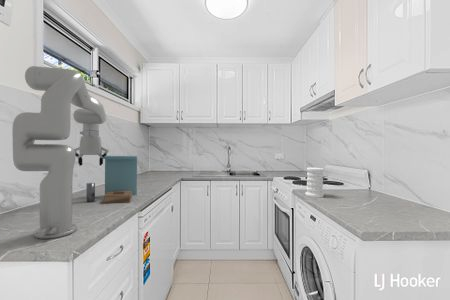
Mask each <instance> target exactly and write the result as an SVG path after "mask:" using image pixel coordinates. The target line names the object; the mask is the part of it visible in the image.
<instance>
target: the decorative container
mask: <svg viewBox="0 0 450 300" xmlns="http://www.w3.org/2000/svg"><path fill="white" fill-rule="evenodd" d="M306 171H307V173H306V174H307V175H306V176H307V177H306V191H305V192H304V193H305V194H304V195H305V196H306V197H309V198H310V197H312V198H324V197H325V194H324V193H323V191H324V189H323V186H324V182H323V181H324V178H323V177H324V172H325V168H322V167H306ZM323 196H324V197H323Z"/></svg>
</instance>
